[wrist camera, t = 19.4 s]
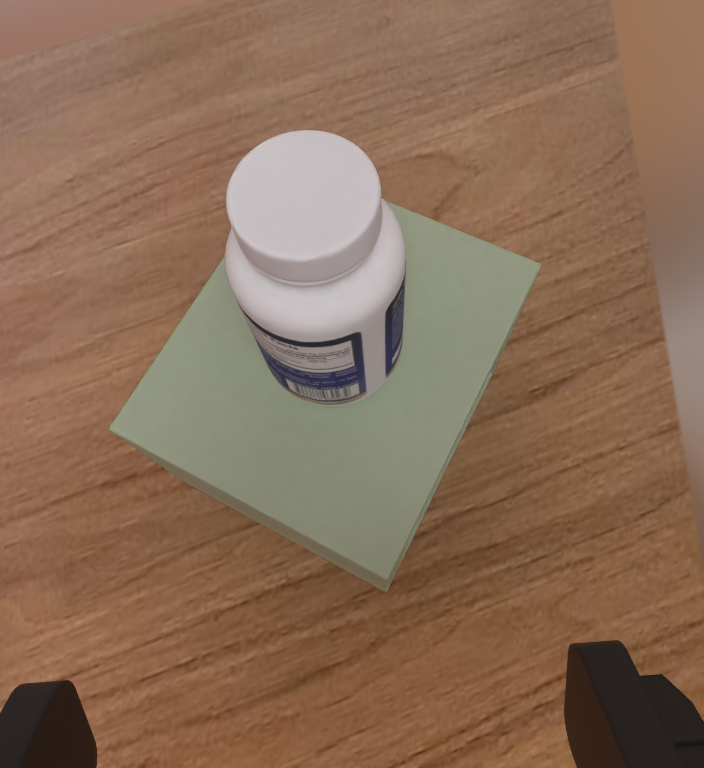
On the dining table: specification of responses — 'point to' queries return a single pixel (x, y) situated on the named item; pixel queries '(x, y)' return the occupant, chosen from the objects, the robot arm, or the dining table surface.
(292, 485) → the shelf
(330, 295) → the pill bottle
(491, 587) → the dining table surface
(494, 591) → the dining table surface
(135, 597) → the dining table surface
